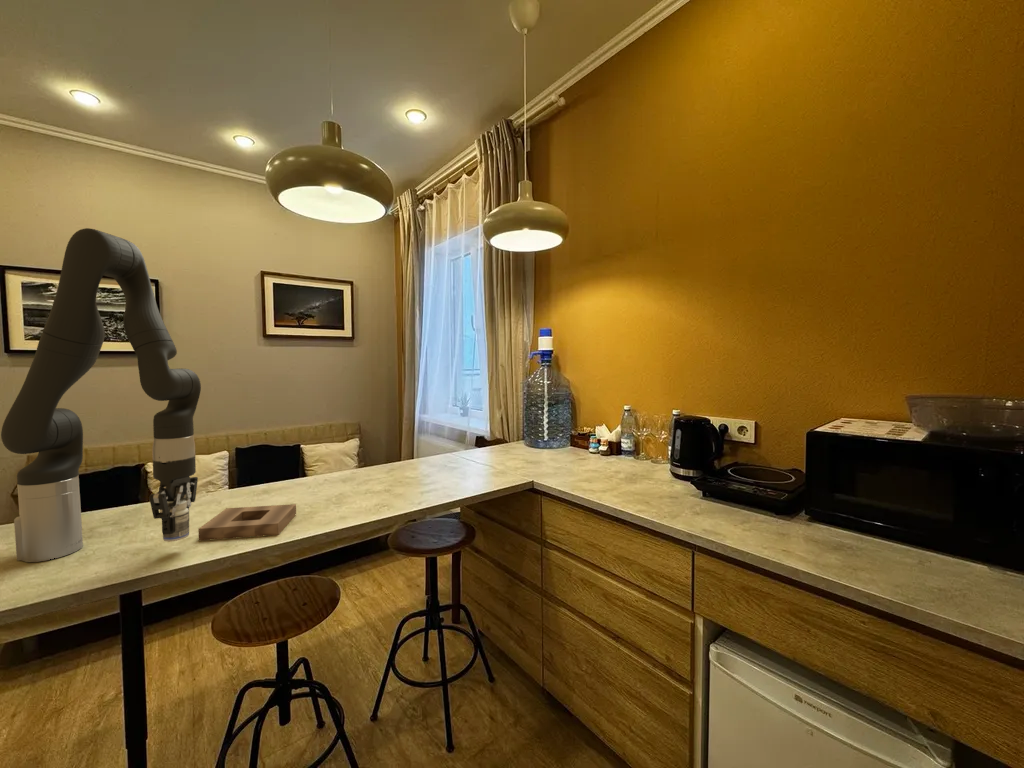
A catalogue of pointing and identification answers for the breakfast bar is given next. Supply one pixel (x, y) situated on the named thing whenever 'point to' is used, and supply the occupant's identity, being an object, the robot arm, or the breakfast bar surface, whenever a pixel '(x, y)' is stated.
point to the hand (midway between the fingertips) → (176, 528)
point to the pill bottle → (179, 523)
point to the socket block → (248, 522)
